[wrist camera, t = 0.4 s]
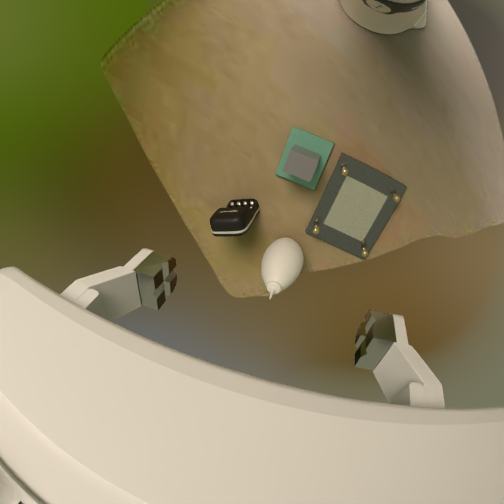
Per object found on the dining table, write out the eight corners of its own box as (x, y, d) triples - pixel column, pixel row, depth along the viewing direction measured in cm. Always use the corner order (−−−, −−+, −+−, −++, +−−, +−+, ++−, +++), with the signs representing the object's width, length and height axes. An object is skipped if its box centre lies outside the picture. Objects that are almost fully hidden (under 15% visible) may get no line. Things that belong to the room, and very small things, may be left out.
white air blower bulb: (263, 242, 61) (237, 293, 47) (288, 222, 57) (270, 271, 42) (287, 266, 63) (269, 322, 48) (313, 248, 59) (303, 303, 44)
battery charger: (258, 194, 56) (241, 216, 47) (261, 211, 58) (245, 237, 48) (226, 196, 58) (204, 218, 49) (230, 213, 60) (209, 237, 51)
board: (293, 126, 47) (287, 129, 41) (334, 142, 47) (334, 148, 41) (276, 172, 53) (268, 182, 47) (314, 188, 52) (311, 201, 47)
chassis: (341, 152, 47) (342, 156, 44) (405, 185, 46) (410, 191, 43) (305, 230, 57) (303, 239, 54) (363, 257, 56) (365, 267, 53)
